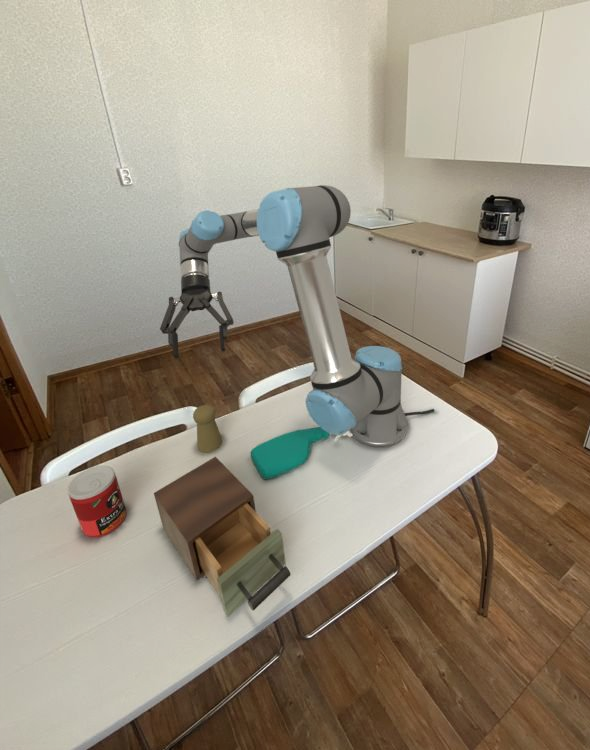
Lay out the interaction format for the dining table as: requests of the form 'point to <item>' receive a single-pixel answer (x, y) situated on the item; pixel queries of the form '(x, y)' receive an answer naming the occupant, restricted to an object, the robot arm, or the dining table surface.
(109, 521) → the canned food
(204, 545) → the drawer
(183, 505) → the cabinet
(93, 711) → the dining table surface
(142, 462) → the dining table surface
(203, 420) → the cork
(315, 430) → the spray bottle
